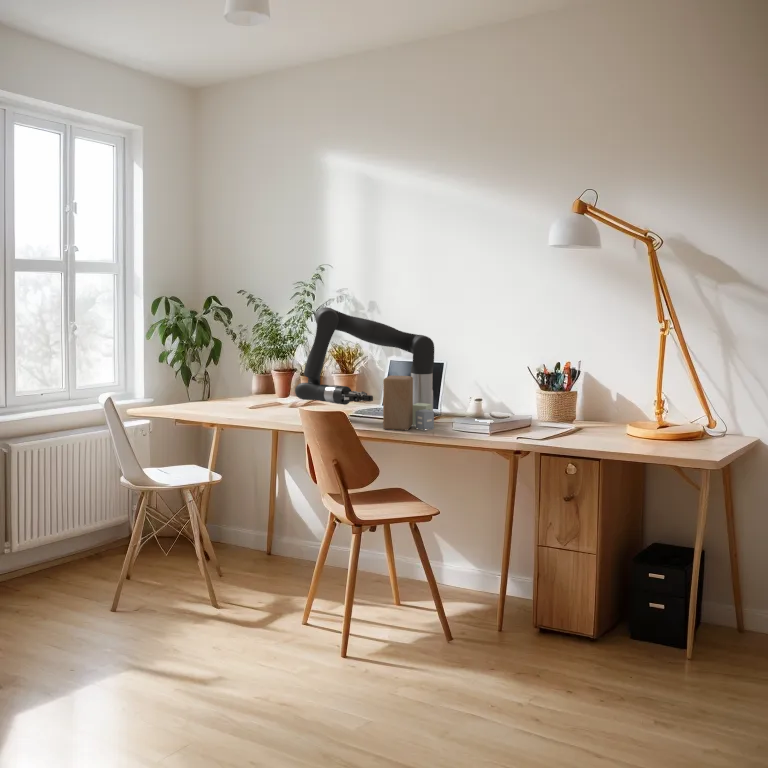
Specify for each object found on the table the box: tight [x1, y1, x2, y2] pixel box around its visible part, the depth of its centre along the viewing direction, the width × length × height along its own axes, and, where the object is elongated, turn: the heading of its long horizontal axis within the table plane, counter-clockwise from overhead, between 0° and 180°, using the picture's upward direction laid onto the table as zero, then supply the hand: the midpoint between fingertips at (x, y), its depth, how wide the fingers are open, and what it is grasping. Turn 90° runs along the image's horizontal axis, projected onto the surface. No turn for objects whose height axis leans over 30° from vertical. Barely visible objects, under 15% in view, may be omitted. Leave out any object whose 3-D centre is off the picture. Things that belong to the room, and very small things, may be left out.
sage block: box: [412, 403, 432, 426], centre depth 338 cm, size 6×6×8 cm
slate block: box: [415, 409, 435, 431], centre depth 329 cm, size 5×5×7 cm
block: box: [382, 375, 413, 431], centre depth 330 cm, size 10×10×20 cm
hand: (371, 398), depth 337 cm, fingers closed
